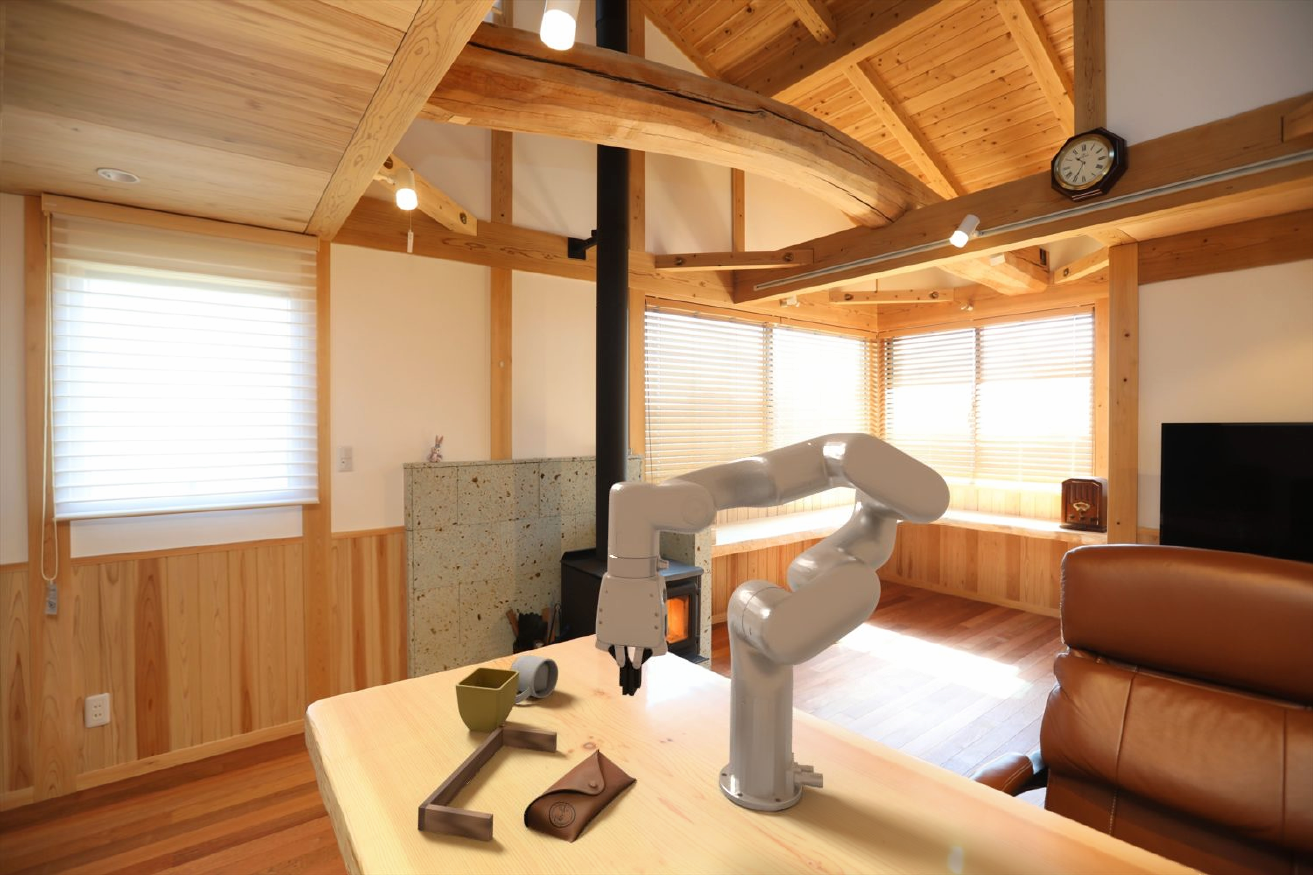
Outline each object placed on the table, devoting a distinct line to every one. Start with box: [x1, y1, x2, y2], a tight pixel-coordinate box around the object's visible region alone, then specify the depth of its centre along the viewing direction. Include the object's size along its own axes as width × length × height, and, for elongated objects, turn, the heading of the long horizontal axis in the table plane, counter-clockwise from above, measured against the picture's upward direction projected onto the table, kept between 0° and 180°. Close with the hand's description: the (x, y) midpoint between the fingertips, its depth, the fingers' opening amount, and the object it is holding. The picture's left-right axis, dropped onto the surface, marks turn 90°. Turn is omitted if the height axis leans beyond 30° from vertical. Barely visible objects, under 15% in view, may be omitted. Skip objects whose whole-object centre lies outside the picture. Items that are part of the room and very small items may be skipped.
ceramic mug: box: [509, 654, 559, 705], centre depth 123 cm, size 11×8×8 cm
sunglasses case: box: [523, 748, 637, 844], centre depth 88 cm, size 18×7×7 cm, turn 153°
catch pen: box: [417, 724, 558, 842], centre depth 91 cm, size 10×24×3 cm, turn 168°
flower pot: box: [455, 666, 519, 733], centre depth 110 cm, size 9×9×9 cm
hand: (630, 691), depth 87 cm, fingers closed
